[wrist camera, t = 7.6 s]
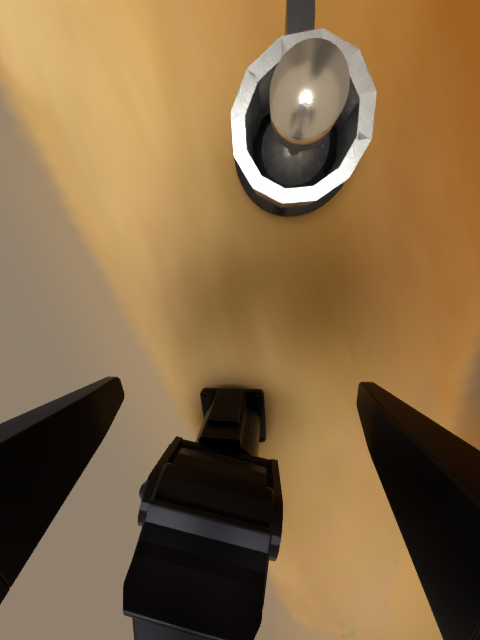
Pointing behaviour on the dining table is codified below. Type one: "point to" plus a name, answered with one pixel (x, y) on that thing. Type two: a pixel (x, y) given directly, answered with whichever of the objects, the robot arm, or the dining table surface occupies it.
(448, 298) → the dining table surface
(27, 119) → the dining table surface
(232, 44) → the dining table surface
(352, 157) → the octagonal collar cylinder
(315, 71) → the plunger
